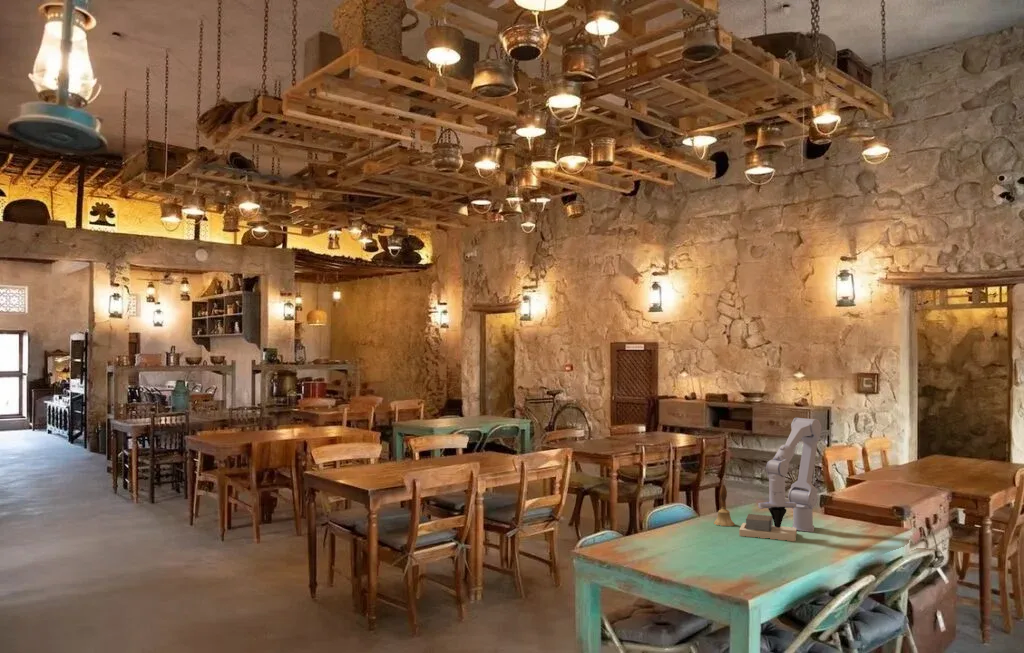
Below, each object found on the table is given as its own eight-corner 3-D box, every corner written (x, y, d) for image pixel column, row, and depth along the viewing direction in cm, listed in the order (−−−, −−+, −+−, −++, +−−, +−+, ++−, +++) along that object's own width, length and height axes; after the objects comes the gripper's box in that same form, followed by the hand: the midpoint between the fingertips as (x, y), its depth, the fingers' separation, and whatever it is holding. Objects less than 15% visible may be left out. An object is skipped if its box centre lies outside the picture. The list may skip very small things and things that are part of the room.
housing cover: (748, 523, 288) (748, 513, 288) (772, 525, 284) (772, 516, 285) (746, 528, 280) (746, 519, 280) (770, 531, 276) (770, 521, 276)
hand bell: (709, 523, 300) (709, 484, 300) (725, 520, 304) (724, 482, 304) (723, 527, 293) (722, 487, 293) (739, 525, 296) (738, 486, 296)
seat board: (742, 528, 290) (742, 522, 290) (796, 533, 282) (796, 527, 282) (739, 535, 279) (739, 529, 279) (795, 541, 271) (794, 534, 271)
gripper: (789, 488, 285) (790, 523, 284) (754, 489, 283) (754, 524, 282) (798, 492, 278) (799, 528, 277) (762, 493, 276) (763, 529, 275)
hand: (777, 526), depth 279 cm, fingers closed
